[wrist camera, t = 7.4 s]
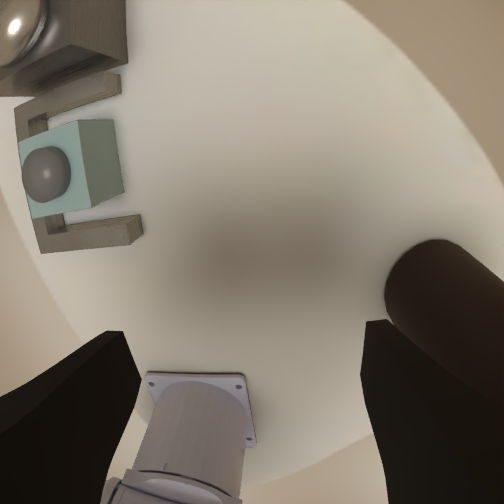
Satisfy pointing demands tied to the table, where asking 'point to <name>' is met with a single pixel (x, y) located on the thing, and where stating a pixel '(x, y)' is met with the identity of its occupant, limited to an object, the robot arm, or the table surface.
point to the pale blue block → (71, 167)
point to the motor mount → (64, 89)
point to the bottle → (452, 313)
